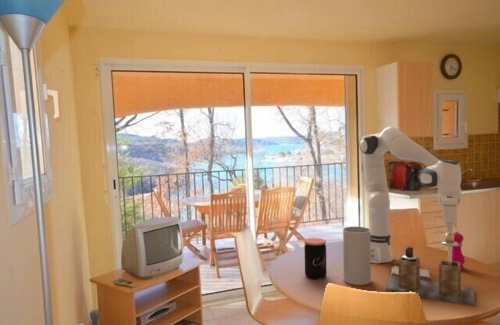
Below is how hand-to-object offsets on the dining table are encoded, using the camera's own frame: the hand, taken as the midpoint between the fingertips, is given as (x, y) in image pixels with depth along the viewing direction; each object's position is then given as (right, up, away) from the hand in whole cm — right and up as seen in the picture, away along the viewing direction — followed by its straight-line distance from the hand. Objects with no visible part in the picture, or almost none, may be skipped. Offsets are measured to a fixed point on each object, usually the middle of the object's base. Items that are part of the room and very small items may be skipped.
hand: (449, 229), depth 157 cm
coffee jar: (-52, -28, +27) cm, 66 cm away
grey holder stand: (-6, -28, +6) cm, 29 cm away
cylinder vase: (-34, -28, +20) cm, 48 cm away
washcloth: (-6, -28, +25) cm, 38 cm away
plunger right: (0, -17, +1) cm, 17 cm away
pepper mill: (+21, -26, +33) cm, 47 cm away
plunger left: (-13, -25, +9) cm, 30 cm away
